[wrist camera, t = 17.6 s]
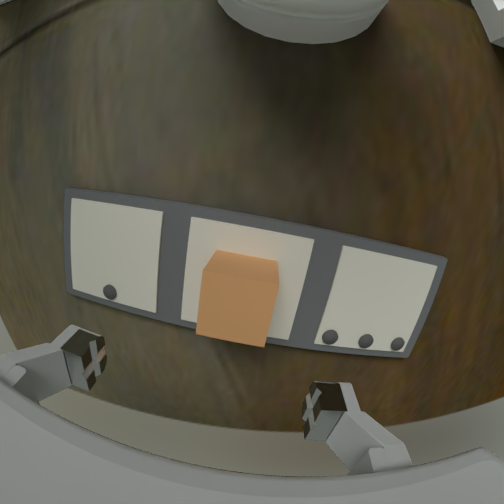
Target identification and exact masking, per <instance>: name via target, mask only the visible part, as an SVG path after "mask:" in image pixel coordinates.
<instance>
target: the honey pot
mask: <svg viewBox="0 0 504 504" xmlns="http://www.w3.org/2000/svg"><path fill="white" fill-rule="evenodd" d="M388 1H389V0H218V3H219V4H220V5H221V7H222V8H223V9H224V11H225V12H226V13H227V14H228V16H230V17H231V18H232V19H234V20H235V21H237V22H238V23H239V24H241V25H242V26H243V27H245V28H247V29H250V30H252V31H254V32H257V33H259V34H261V35H263V36H266V37H270V38H274V39H278V40H282V41H286V42H293V43H305V44H322V43H335V42H339V41H342V40H345V39H349V38H352V37H355V36H356V35H358V34H360V33H361V32H363V31H364V30H366V29H368V28H369V26H370V25H371V24H372V22H373V21H374V20H375V18H376V17H377V16H378V14H379V13H380V11H381V10H382V9H383V7H384V6H385V5H386V3H387V2H388Z"/></svg>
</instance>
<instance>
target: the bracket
mask: <svg viewBox="0 0 504 504" xmlns="http://www.w3.org/2000/svg"><path fill="white" fill-rule="evenodd" d="M471 2H472V4H473V6H474V8H475V10H476V12H477V14H478V16H479V18H480V20H481V22H482V25H483V27H484V29H485V31H486V34H487V36H488V38H489V41H490V43H493V44H496V45H498V46H501V47H503V48H504V0H471Z"/></svg>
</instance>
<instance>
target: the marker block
mask: <svg viewBox="0 0 504 504" xmlns="http://www.w3.org/2000/svg"><path fill="white" fill-rule="evenodd" d="M278 288H279V275H278V262H277V261H275V260H270V259H264V258H259V257H254V256H248V255H243V254H238V253H232V252H227V251H222V250H216V251H215V253H214V254H213V256H212V257H211V259H210V260H209V262H208V263H207V265H206V266H205V268H204V269H203V272H202V281H201V289H200V298H199V307H198V316H197V326H196V334H198V335H203V336H207V337H212V338H217V339H222V340H227V341H232V342H237V343H242V344H248V345H253V346H259V347H264V346H265V342H266V338H267V334H268V330H269V326H270V322H271V318H272V313H273V309H274V305H275V301H276V296H277V292H278Z"/></svg>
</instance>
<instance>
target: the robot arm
mask: <svg viewBox="0 0 504 504" xmlns="http://www.w3.org/2000/svg"><path fill="white" fill-rule="evenodd" d="M9 1H12V0H0V5H2V4H4V3H7V2H9ZM104 345H105V341H104V337H103V336H101V335H98V334H96V333H93V332H91V331H88V330H86V329H83V328H80V327H78V326H75V325H70V326H68V327H67V328H66V329H65V330H64V331H63V332H62V333H61V334H60V335H59V336H58V337H57V338H56V339H55V340H54V341H53V342H51V343H50V344H49V343H44V344H40V345H37V346H33V347H29V348H25V349H21V350H17V351H13V352H9V353H5V354H2V355H1V356H0V504H504V460H503V459H502V458H500V457H499V456H497V455H496V454H494V453H492V452H491V451H489V450H487V449H485V448H476V449H472V450H469V451H466V452H463V453H461V454H457V455H454V456H451V457H447V458H444V459H440V460H437V461H433V462H429V463H425V464H420V465H416V466H413V465H412V462H411V460H410V457H409V454H408V452H407V449H406V447H405V444H404V443H403V442H402V441H400V440H399V439H398V438H396V437H395V436H394V435H392V434H391V433H390V432H389V431H387V430H386V429H385V428H384V427H382V426H381V425H380V424H379V423H377V422H376V421H375V420H374V419H373V418H371V417H370V416H369V415H368V414H366V413H365V412H361V410H360V407H359V404H358V402H357V399H356V396H355V393H354V390H353V387H352V385H351V384H350V383H334V382H320V381H313V382H312V383H311V385H310V387H309V391H310V394H308V395H307V396H305V399H304V401H303V405H302V419H303V420H304V421H305V424H304V426H303V429H304V438H305V440H318V441H319V440H320V441H326V443H327V444H328V445H329V447H330V448H331V449H332V450H333V452H334V453H335V454H336V455H337V456H338V458H339V459H340V460H341V461H342V462H343V464H344V465H345V466H346V467H347V468H348V470H349V471H350V472H349V473H348V474H347V475H345V476H327V477H326V476H323V477H295V476H294V477H293V476H272V475H260V474H250V473H242V472H234V471H227V470H221V469H215V468H209V467H204V466H199V465H194V464H189V463H185V462H181V461H177V460H173V459H169V458H166V457H162V456H159V455H155V454H152V453H149V452H145V451H142V450H139V449H136V448H133V447H130V446H128V445H125V444H122V443H119V442H117V441H114V440H112V439H109V438H106V437H104V436H102V435H99V434H97V433H95V432H92V431H90V430H88V429H86V428H83V427H81V426H79V425H77V424H75V423H73V422H71V421H69V420H67V419H65V418H63V417H61V416H59V415H57V414H55V413H53V412H52V411H50V410H48V409H46V408H44V407H43V406H41V405H40V404H39V401H41V400H43V399H45V398H47V397H49V396H51V395H53V394H55V393H57V392H59V391H61V390H63V389H65V388H67V387H69V386H71V385H75V386H77V387H79V388H82V389H84V390H87V391H90V390H91V388H92V387H93V385H94V384H95V382H96V377H95V376H98V375H101V374H102V372H103V371H104V369H105V366H106V361H107V356H106V352H105V351H104V349H103V346H104Z"/></svg>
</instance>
